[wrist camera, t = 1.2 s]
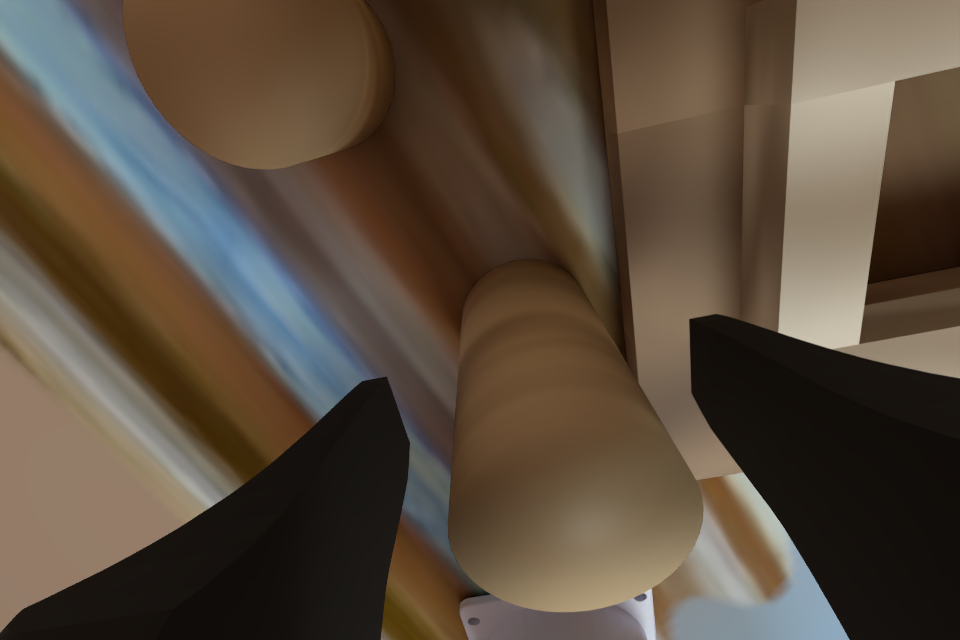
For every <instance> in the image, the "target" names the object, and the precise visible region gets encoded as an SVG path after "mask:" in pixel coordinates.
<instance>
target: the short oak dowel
mask: <svg viewBox="0 0 960 640" xmlns="http://www.w3.org/2000/svg"><path fill="white" fill-rule="evenodd" d="M123 19H124V30H125V36H126V41H127V46H128V49H129V53H130V56H131V60H132V62H133V65H134V68H135V70H136V73H137V75H138V77H139V79H140V81H141V83H142V85H143V87H144V89H145V91H146V93H147V94H148V96H149V97H150V99H151V100H152V102H153V103H154V105H155V107H156V108H157V109H158V110H159V112H160V113H161V114H162V115H163V117H164V118H165V119H166V120H167V121H168V122H169V123H170V124H171V125H172V127H173V128H174V129H175V130H176V131H177V132H178V133H180V134H181V135H182V136H183V137H184V138H186V139H187V140H188V141H189V142H190V143H192V144H193V145H195V146H196V147H198V148H199V149H201V150H202V151H204V152H205V153H207V154H209V155H211V156H213V157H215V158H217V159H219V160H222V161H224V162H227V163H230V164H232V165H236V166H240V167H244V168H251V169H260V170H262V169H279V168H285V167H289V166H293V165H296V164H299V163H303V162H306V161H309V160H313V159H316V158H319V157H323V156H326V155H329V154H333V153H336V152H339V151H343V150H346V149H349V148H352V147H354V146H356V145H358V144H360V143H361V142H363V141H364V140H366V139H367V138H368V137H369V136H370V135H371V134H373V133H374V132H375V130H376V129H377V128H378V127H379V125H380V124H381V123H382V121H383V119H384V118H385V116H386V114H387V111H388V109H389V107H390V104H391V100H392V97H393V92H394V85H395V66H394V58H393V53H392V49H391V46H390V42H389V39H388V37H387V34H386V32H385V30H384V27H383V26H382V24H381V22H380V20H379V19H378V17H377V15H376V14H375V13H374V11H373V10H372V9H371V7H370V6H369V5H368V4H367V3H366V2H365V1H364V0H123Z"/></svg>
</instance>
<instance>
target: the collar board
mask: <svg viewBox="0 0 960 640" xmlns="http://www.w3.org/2000/svg"><path fill="white" fill-rule="evenodd" d="M593 11H594V21H595V32H596V42H597V53H598V63H599V74H600V84H601V95H602V105H603V116H604V126H605V137H606V147H607V158H608V168H609V179H610V189H611V200H612V210H613V221H614V231H615V242H616V252H617V263H618V273H619V284H620V294H621V305H622V315H623V326H624V336H625V347H626V357H627V365H628V366H629V368H630V370H631V371H632V373H633V375H634V376H635V378H636V380H637V381H638V383H639V385H640V386H641V388H642V390H643V391H644V393H645V395H646V396H647V398H648V400H649V401H650V403H651V405H652V406H653V408H654V410H655V411H656V413H657V415H658V416H659V418H660V420H661V421H662V423H663V425H664V427H665V428H666V430H667V432H668V433H669V435H670V437H671V438H672V440H673V442H674V443H675V445H676V447H677V448H678V450H679V452H680V453H681V455H682V457H683V458H684V460H685V462H686V463H687V465H688V467H689V468H690V470H691V472H692V473H693V475H694V477H695V479H696V480H700V479H706V478H712V477H718V476H724V475H730V474H736V473H742V472H743V471H742V470H741V469H740V467H739V466H738V465H737V463H736V462H735V461H734V459H733V458H732V457H731V455H730V454H729V453H728V451H727V450H726V449H725V447H724V446H723V445H722V443H721V442H720V441H719V439H718V438H717V436H716V435H715V434H714V432H713V431H712V430H711V428H710V426H709V425H708V423H707V421H706V419H705V418H704V416H703V414H702V412H701V411H700V409H699V407H698V405H697V403H696V401H695V399H694V397H693V395H692V393H691V366H690V331H689V319H692V318H697V317H702V316H707V315H713V314H720V315H724V316H728V317H732V318H735V319H738V320H742V321H745V322H748V323H751V324H754V325H757V326H760V327H763V328H766V329H769V330H772V331H775V332H778V333H781V334H784V335H787V336H790V337H793V338H796V339H800V340H803V341H806V342H809V343H812V344H816V345H819V346H822V347H826V348H829V349H833V350H836V351H840V352H843V353H847V354H851V355H854V356H858V357H861V358H865V359H869V360H873V361H878V362H882V363H886V364H891V365H895V366H900V367H905V368H909V369H914V370H919V371H923V372H928V373H933V374H938V375H944V376H950V377H955V378H960V267H956V268H951V269H945V270H940V271H935V272H930V273H924V274H919V275H914V276H909V277H903V278H898V279H893V280H888V281H882V282H877V283H872V284H867V282H868V275H869V268H870V260H871V253H872V246H873V239H874V231H875V224H876V217H877V209H878V202H879V195H880V188H881V180H882V173H883V166H884V158H885V151H886V144H887V137H888V129H889V122H890V115H891V107H892V100H893V93H894V86H895V81H898V80H902V79H907V78H911V77H916V76H920V75H925V74H929V73H934V72H938V71H942V70H947V69H951V68H956V67H960V0H593Z"/></svg>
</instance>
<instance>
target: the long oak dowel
mask: <svg viewBox="0 0 960 640" xmlns="http://www.w3.org/2000/svg"><path fill="white" fill-rule="evenodd" d="M702 522H703V501H702V495H701V492H700V488H699V485H698V483H697V481H696V479H695V477H694V475H693V473H692V472H691V470H690V468H689V467H688V465H687V463H686V462H685V460H684V458H683V457H682V455H681V453H680V452H679V450H678V448H677V447H676V445H675V443H674V442H673V440H672V438H671V437H670V435H669V433H668V432H667V430H666V428H665V427H664V425H663V423H662V421H661V420H660V418H659V416H658V415H657V413H656V411H655V410H654V408H653V406H652V405H651V403H650V401H649V400H648V398H647V396H646V395H645V393H644V391H643V390H642V388H641V386H640V385H639V383H638V381H637V380H636V378H635V376H634V375H633V373H632V371H631V370H630V368H629V366H628V365H627V363H626V361H625V360H624V358H623V356H622V355H621V353H620V351H619V349H618V348H617V346H616V344H615V343H614V341H613V339H612V338H611V336H610V334H609V333H608V331H607V329H606V328H605V326H604V324H603V323H602V321H601V319H600V318H599V316H598V314H597V313H596V311H595V309H594V308H593V306H592V304H591V303H590V301H589V299H588V298H587V296H586V294H585V293H584V291H583V289H582V288H581V286H580V285H579V283H578V282H577V281H576V280H575V279H574V278H573V277H572V276H571V274H569V273H568V272H567V271H565V270H564V269H562V268H560V267H558V266H557V265H554V264H552V263H549V262H545V261H541V260H533V259H523V260H516V261H511V262H507V263H504V264H502V265H500V266H497V267H495V268H494V269H492V270H490V271H489V272H487V273H486V274H485V275H483V276H482V277H481V278H480V279H479V280H478V281H477V282H476V284H475V285H474V286H473V287H472V289H471V290H470V292H469V294H468V296H467V298H466V301H465V303H464V307H463V312H462V323H461V337H460V352H459V367H458V382H457V397H456V411H455V426H454V441H453V456H452V470H451V485H450V500H449V515H448V538H449V542H450V546H451V550H452V552H453V554H454V557H455V559H456V561H457V562H458V564H459V565H460V567H461V568H462V570H463V571H464V572H465V573H466V575H467V576H468V577H469V578H470V579H471V580H472V581H473V582H475V583H476V584H477V585H478V586H479V587H480V588H482V589H483V590H485V591H487V592H488V593H490V594H491V595H493V596H495V597H497V598H499V599H501V600H503V601H506V602H508V603H511V604H514V605H517V606H521V607H524V608H528V609H533V610H540V611H547V612H580V611H589V610H595V609H600V608H605V607H608V606H612V605H616V604H619V603H622V602H624V601H627V600H630V599H632V598H634V597H636V596H638V595H641V594H643V593H645V592H647V591H648V590H650V589H651V588H653V587H655V586H656V585H658V584H659V583H661V582H662V581H663V580H665V579H666V578H667V577H669V576H670V575H671V574H672V573H673V572H674V571H675V570H676V569H677V568H678V567H679V566H680V565H681V564H682V562H683V561H684V560H685V559H686V558H687V556H688V555H689V553H690V552H691V550H692V548H693V547H694V545H695V543H696V541H697V538H698V536H699V534H700V530H701V526H702Z"/></svg>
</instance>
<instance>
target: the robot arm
mask: <svg viewBox="0 0 960 640" xmlns="http://www.w3.org/2000/svg"><path fill="white" fill-rule="evenodd" d="M689 331H690V366H691V393H692V395H693V397H694V399H695V401H696V403H697V405H698V407H699V409H700V411H701V412H702V414H703V416H704V418H705V419H706V421H707V423H708V425H709V426H710V428H711V430H712V431H713V432H714V434H715V435H716V436H717V438H718V439H719V441H720V442H721V443H722V445H723V446H724V447H725V449H726V450H727V451H728V453H729V454H730V455H731V457H732V458H733V459H734V461H735V462H736V463H737V465H738V466H739V467H740V469H741V470H742V471H743V472H744V474H745V475H746V476H747V478H748V479H749V480H750V482H751V483H752V484H753V486H754V487H755V488H756V490H757V491H758V492H759V494H760V495H761V496H762V498H763V499H764V500H765V502H766V503H767V504H768V505H769V507H770V508H771V510H772V511H773V512H774V514H775V515H776V517H777V518H778V520H779V521H780V523H781V524H782V525H783V527H784V528H785V530H786V532H787V533H788V535H789V537H790V538H791V540H792V541H793V543H794V545H795V546H796V548H797V550H798V551H799V553H800V555H801V556H802V558H803V559H804V561H805V563H806V565H807V566H808V568H809V569H810V571H811V573H812V574H813V576H814V578H815V580H816V581H817V583H818V584H819V587H820V588H821V590H822V592H823V594H824V595H825V597H826V599H827V600H828V602H829V604H830V606H831V607H832V609H833V611H834V613H835V614H836V616H837V618H838V620H839V621H840V623H841V625H842V626H843V628H844V630H845V632H846V634H847V636H848V637H849V639H850V640H960V378H955V377H950V376H944V375H938V374H933V373H928V372H923V371H919V370H914V369H909V368H905V367H900V366H895V365H891V364H886V363H882V362H878V361H873V360H869V359H865V358H861V357H858V356H854V355H851V354H847V353H843V352H840V351H836V350H833V349H829V348H826V347H822V346H819V345H816V344H812V343H809V342H806V341H803V340H800V339H796V338H793V337H790V336H787V335H784V334H781V333H778V332H775V331H772V330H769V329H766V328H763V327H760V326H757V325H754V324H751V323H748V322H745V321H742V320H738V319H735V318H732V317H728V316H724V315H720V314H713V315H707V316H702V317H697V318H692V319H689ZM409 450H410V442H409V439H408V436H407V434H406V431H405V428H404V425H403V422H402V419H401V416H400V413H399V410H398V408H397V405H396V402H395V399H394V396H393V393H392V390H391V387H390V384H389V381H388V379H387V377H382V378H377V379H372V380H366V381H362V382H361V383H360V384H358V385H357V386H356V387H355V388H354V389H353V390H351V391H350V392H349V393H348V394H347V395H346V396H345V397H344V398H343V399H342V400H341V401H340V402H339V403H338V404H337V405H335V406H334V407H333V408H332V409H331V410H330V411H329V412H328V413H327V414H326V415H325V416H324V417H323V418H322V419H321V420H320V421H319V422H318V423H317V424H316V425H314V426H313V427H312V428H311V429H310V430H309V431H308V432H307V433H306V434H305V435H304V436H302V437H301V438H300V439H299V440H298V441H297V442H296V443H294V444H293V445H292V446H291V447H290V448H289V449H288V450H286V451H285V452H284V453H283V454H282V455H281V456H280V457H278V458H277V459H276V460H275V461H274V462H272V463H271V464H270V465H269V466H268V467H266V468H265V469H264V470H262V471H261V472H260V473H259V474H257V475H256V476H255V477H253V478H252V479H251V480H249V481H248V482H247V483H245V484H244V485H243V486H241V487H240V488H238V489H237V490H236V491H234V492H233V493H232V494H230V495H229V496H227V497H226V498H224V499H223V500H221V501H220V502H218V503H217V504H215V505H214V506H212V507H210V508H209V509H207V510H206V511H204V512H203V513H201V514H200V515H198V516H197V517H195V518H194V519H192V520H191V521H189V522H187V523H186V524H184V525H183V526H181V527H180V528H178V529H176V530H175V531H173V532H171V533H169V534H168V535H166V536H164V537H163V538H161V539H159V540H157V541H156V542H154V543H152V544H151V545H149V546H147V547H145V548H143V549H142V550H140V551H138V552H136V553H134V554H133V555H131V556H129V557H127V558H125V559H123V560H122V561H120V562H118V563H116V564H114V565H112V566H110V567H108V568H106V569H105V570H103V571H101V572H99V573H97V574H95V575H93V576H90V577H88V578H87V579H84V580H82V581H81V582H79V583H76V584H74V585H72V586H70V587H68V588H66V589H64V590H62V591H60V592H58V593H56V594H54V595H52V596H50V597H48V598H46V599H44V600H41V601H40V602H37V603H35V604H33V605H31V606H29V607H27V608H24V609H23V610H22V611H21V612H19V613H18V614H17V615H16V616H15V617H14V618H13V619H12V621H11V622H10V623H9V624H8V625H7V626H6V627H5V628H4V629H3V630H2V632H1V633H0V640H381V629H382V620H383V610H384V601H385V591H386V585H387V579H388V573H389V567H390V562H391V557H392V553H393V548H394V543H395V539H396V534H397V529H398V524H399V520H400V515H401V510H402V505H403V500H404V495H405V490H406V485H407V480H408V467H409ZM460 617H461V620H462V622H463V625H464V628H465V631H466V634H467V636H468V639H469V640H656V629H655V618H654V607H653V596H652V588H651V589H650V590H648V591H647V592H645V593H643V594H641V595H638V596H636V597H634V598H632V599H630V600H627V601H624V602H622V603H619V604H616V605H612V606H608V607H605V608H600V609H595V610H589V611H580V612H547V611H540V610H533V609H528V608H524V607H521V606H517V605H514V604H511V603H508V602H506V601H503V600H501V599H499V598H497V597H495V596H493V595H485V596H478V597H472V598H467V599H465V600H463V601H462V602H461V603H460Z"/></svg>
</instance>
